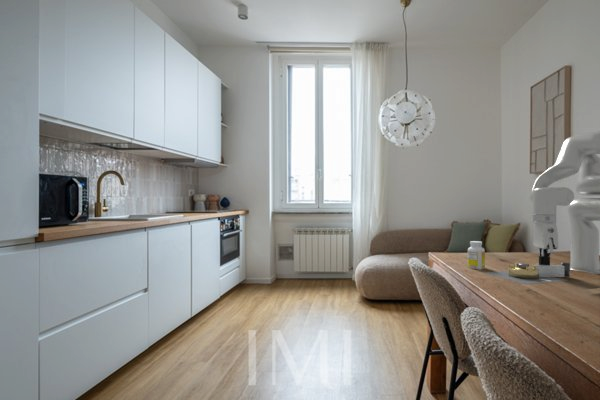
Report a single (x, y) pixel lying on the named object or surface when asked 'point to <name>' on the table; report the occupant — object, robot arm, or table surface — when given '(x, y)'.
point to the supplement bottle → (476, 255)
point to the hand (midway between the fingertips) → (544, 266)
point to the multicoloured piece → (538, 270)
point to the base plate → (522, 280)
